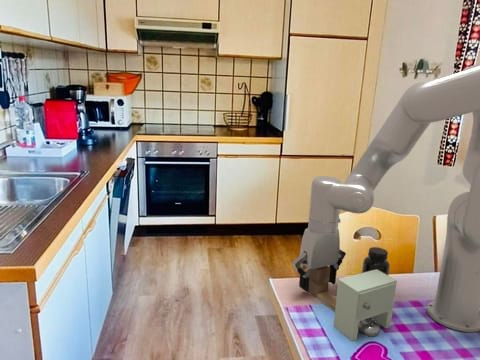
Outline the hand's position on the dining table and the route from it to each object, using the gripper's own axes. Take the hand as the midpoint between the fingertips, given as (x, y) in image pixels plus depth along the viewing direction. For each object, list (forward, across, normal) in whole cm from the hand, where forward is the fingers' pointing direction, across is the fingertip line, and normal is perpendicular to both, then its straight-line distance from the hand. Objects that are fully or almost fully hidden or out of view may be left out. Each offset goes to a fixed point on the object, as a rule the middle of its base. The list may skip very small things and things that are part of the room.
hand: (317, 285), depth 105 cm
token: (+2, 0, +19) cm, 19 cm away
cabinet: (+2, 0, +17) cm, 17 cm away
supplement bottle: (+2, -15, +6) cm, 16 cm away
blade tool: (+2, 0, +5) cm, 6 cm away
